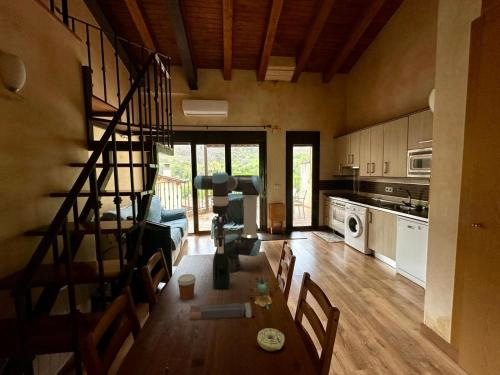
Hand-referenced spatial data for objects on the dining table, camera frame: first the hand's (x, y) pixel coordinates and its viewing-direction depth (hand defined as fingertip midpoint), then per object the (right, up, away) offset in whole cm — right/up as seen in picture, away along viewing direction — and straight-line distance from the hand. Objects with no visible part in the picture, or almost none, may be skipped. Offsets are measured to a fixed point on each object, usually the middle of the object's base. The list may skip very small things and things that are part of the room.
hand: (220, 248), depth 118 cm
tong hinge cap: (+13, -30, -3) cm, 33 cm away
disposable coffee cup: (-19, -30, +11) cm, 37 cm away
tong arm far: (-1, -30, -3) cm, 30 cm away
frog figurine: (+21, -31, +8) cm, 38 cm away
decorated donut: (+23, -33, -21) cm, 45 cm away
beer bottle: (-2, -29, +24) cm, 38 cm away
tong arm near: (-1, -30, -6) cm, 31 cm away
